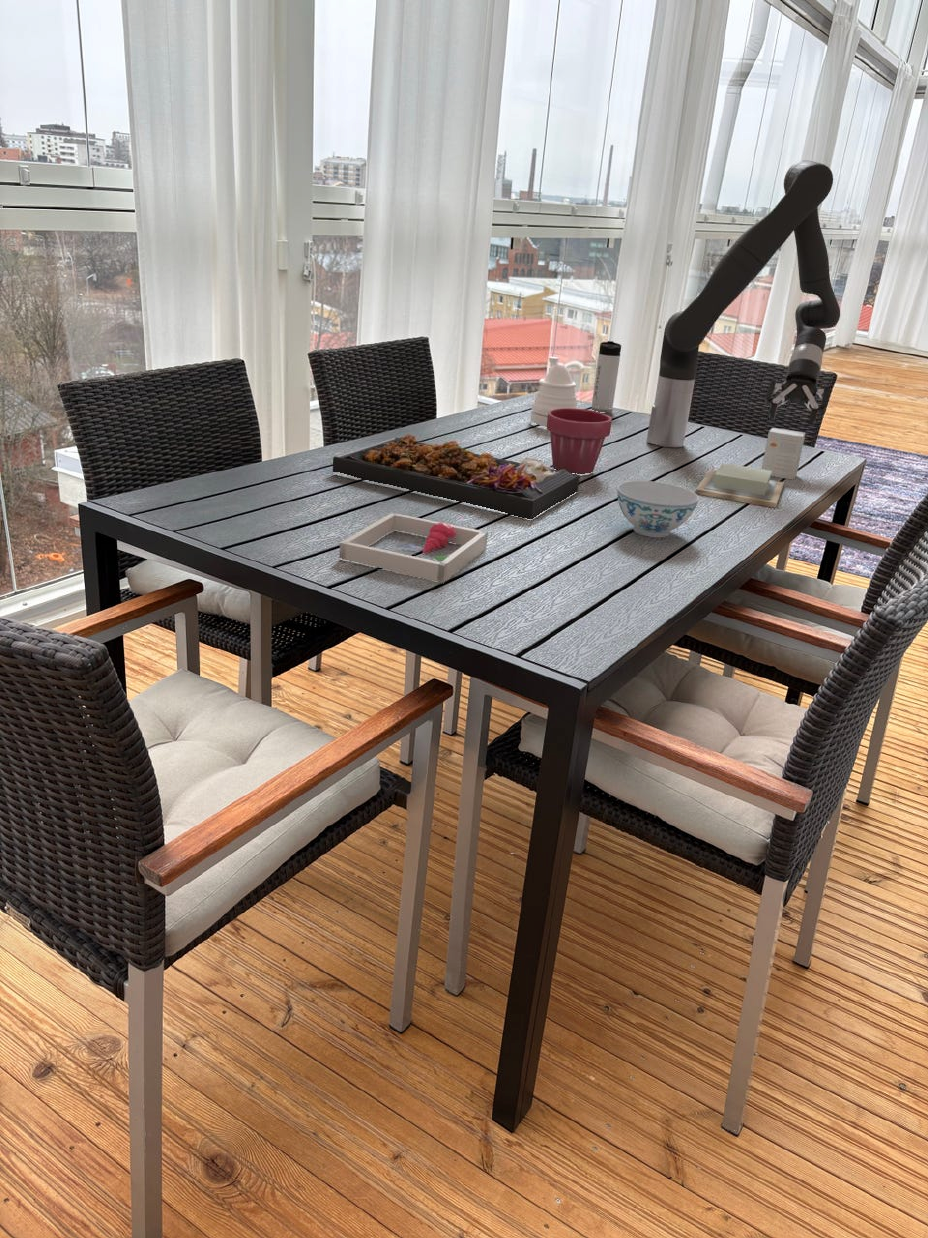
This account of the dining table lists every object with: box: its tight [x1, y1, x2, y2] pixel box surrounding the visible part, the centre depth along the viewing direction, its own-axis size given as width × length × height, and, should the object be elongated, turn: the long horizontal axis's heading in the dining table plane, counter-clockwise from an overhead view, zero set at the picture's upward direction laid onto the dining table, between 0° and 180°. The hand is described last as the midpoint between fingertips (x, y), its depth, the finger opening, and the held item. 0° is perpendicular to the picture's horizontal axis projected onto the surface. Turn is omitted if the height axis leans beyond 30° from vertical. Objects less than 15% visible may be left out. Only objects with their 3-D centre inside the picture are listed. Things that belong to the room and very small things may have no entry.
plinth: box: [713, 462, 772, 495], centre depth 211 cm, size 11×12×3 cm
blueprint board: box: [694, 469, 785, 509], centre depth 212 cm, size 17×20×1 cm
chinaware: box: [616, 480, 700, 538], centre depth 177 cm, size 15×15×8 cm
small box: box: [761, 427, 806, 481], centre depth 226 cm, size 8×6×10 cm
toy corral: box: [338, 512, 489, 584], centre depth 156 cm, size 18×19×3 cm
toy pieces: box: [403, 522, 456, 561], centre depth 157 cm, size 12×11×4 cm
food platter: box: [332, 433, 581, 520], centre depth 196 cm, size 45×25×10 cm, turn 63°
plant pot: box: [547, 408, 613, 474], centre depth 213 cm, size 14×14×13 cm
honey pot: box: [529, 356, 580, 427], centre depth 256 cm, size 13×13×18 cm
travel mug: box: [590, 340, 622, 414], centre depth 279 cm, size 6×7×20 cm
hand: (791, 421), depth 228 cm, fingers open, 8 cm apart
